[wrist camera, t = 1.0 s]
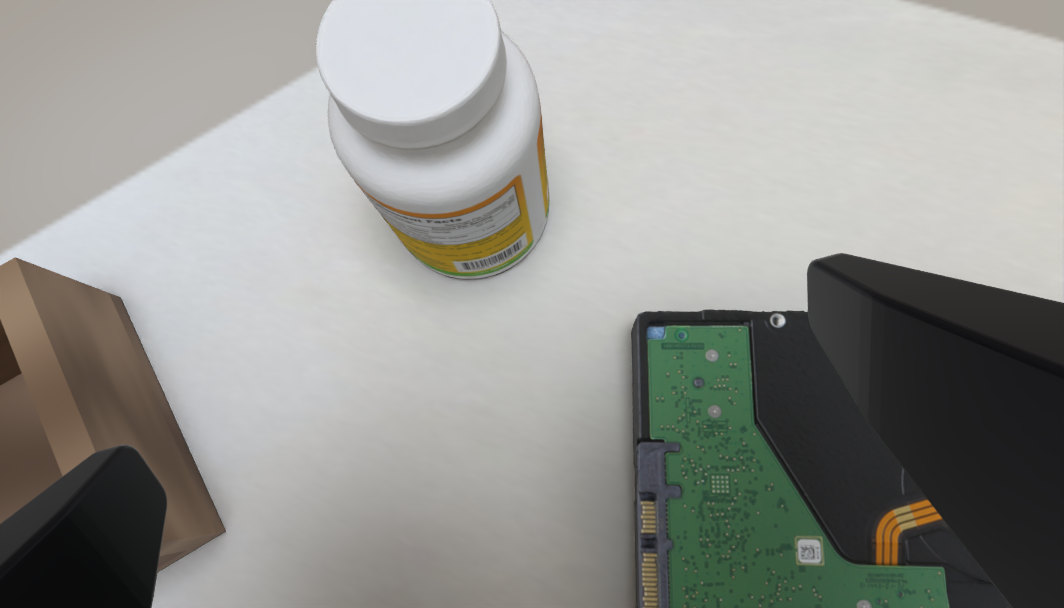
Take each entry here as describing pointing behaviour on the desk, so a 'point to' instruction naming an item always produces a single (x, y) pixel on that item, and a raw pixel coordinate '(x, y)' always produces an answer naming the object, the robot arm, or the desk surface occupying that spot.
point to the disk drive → (774, 479)
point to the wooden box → (86, 400)
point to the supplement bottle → (438, 128)
